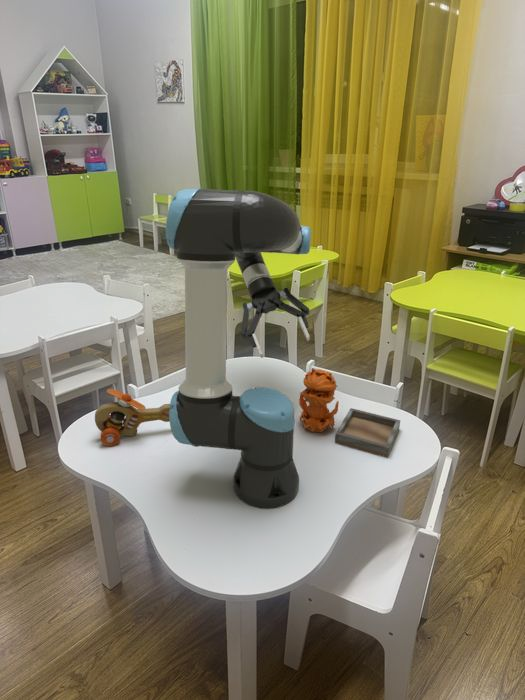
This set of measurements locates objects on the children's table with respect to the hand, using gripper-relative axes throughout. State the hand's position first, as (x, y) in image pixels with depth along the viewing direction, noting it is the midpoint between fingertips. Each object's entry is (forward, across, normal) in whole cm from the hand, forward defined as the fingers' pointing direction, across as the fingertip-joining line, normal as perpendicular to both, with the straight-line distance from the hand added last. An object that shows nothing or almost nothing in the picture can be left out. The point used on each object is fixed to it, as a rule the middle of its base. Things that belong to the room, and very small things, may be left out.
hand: (285, 347), depth 131 cm
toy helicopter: (+8, +46, -2) cm, 47 cm away
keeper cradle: (+29, -12, -9) cm, 33 cm away
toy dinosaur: (+22, 0, -10) cm, 24 cm away
